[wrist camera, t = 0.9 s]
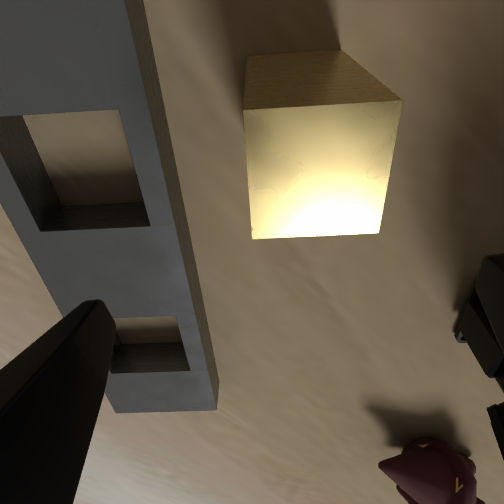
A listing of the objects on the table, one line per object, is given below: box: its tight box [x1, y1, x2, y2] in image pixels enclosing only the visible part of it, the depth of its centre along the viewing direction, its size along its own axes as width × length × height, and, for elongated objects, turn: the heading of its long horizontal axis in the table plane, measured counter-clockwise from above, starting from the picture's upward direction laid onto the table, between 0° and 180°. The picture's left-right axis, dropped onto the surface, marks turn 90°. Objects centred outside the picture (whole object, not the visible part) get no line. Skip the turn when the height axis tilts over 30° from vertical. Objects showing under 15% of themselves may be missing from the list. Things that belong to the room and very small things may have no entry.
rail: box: [0, 0, 219, 413], centre depth 21 cm, size 8×28×2 cm, turn 4°
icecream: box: [378, 437, 485, 504], centre depth 34 cm, size 7×7×15 cm
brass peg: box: [243, 49, 403, 239], centre depth 13 cm, size 4×4×8 cm
